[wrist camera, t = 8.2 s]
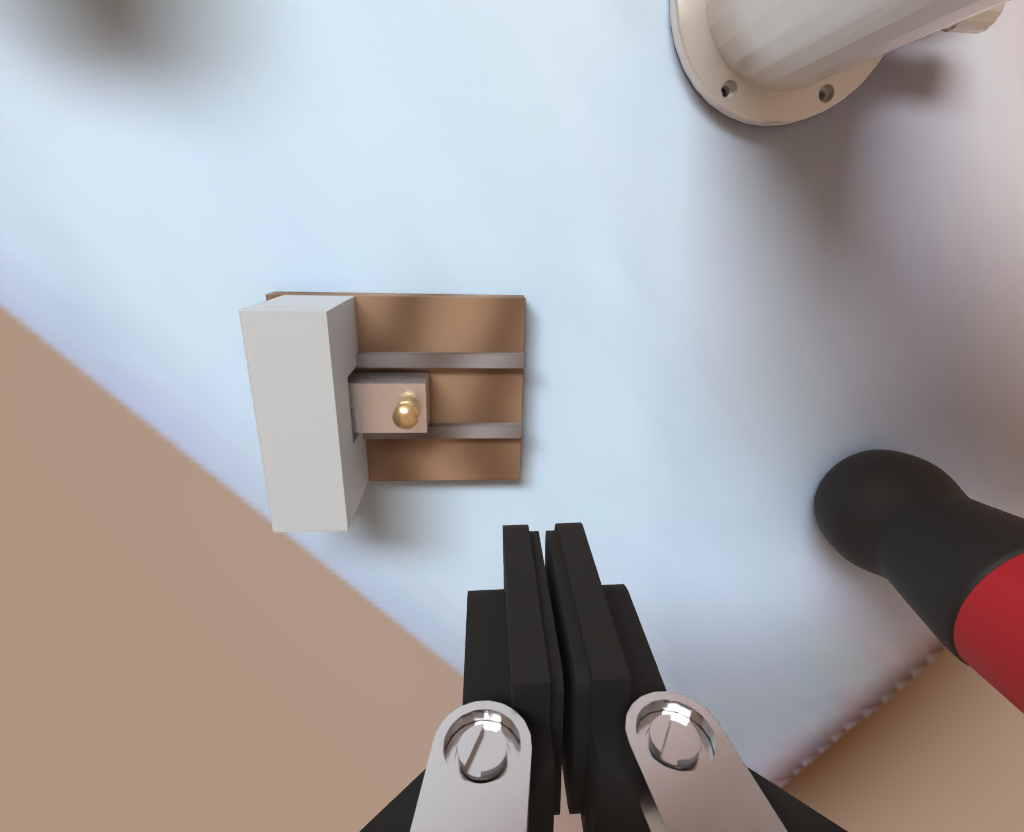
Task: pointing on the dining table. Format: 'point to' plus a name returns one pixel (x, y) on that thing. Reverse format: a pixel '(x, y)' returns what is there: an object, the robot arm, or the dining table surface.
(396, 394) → the bolt
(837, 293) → the dining table surface
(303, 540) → the dining table surface
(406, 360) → the lock base
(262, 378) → the door edge
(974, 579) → the cola bottle
